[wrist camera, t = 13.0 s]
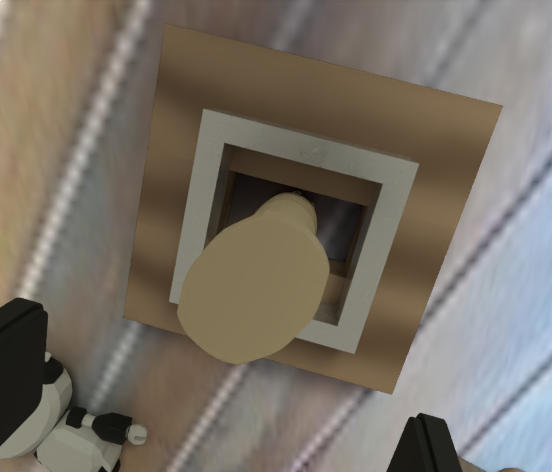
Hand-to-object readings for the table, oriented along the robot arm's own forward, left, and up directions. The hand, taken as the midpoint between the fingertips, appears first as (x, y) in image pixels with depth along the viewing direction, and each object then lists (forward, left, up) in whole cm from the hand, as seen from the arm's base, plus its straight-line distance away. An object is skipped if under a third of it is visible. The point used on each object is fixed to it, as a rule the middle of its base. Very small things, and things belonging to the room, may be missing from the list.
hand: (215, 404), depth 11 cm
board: (0, 0, -21) cm, 21 cm away
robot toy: (+23, -16, -22) cm, 35 cm away
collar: (0, 0, -18) cm, 18 cm away
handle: (0, 0, -21) cm, 21 cm away
